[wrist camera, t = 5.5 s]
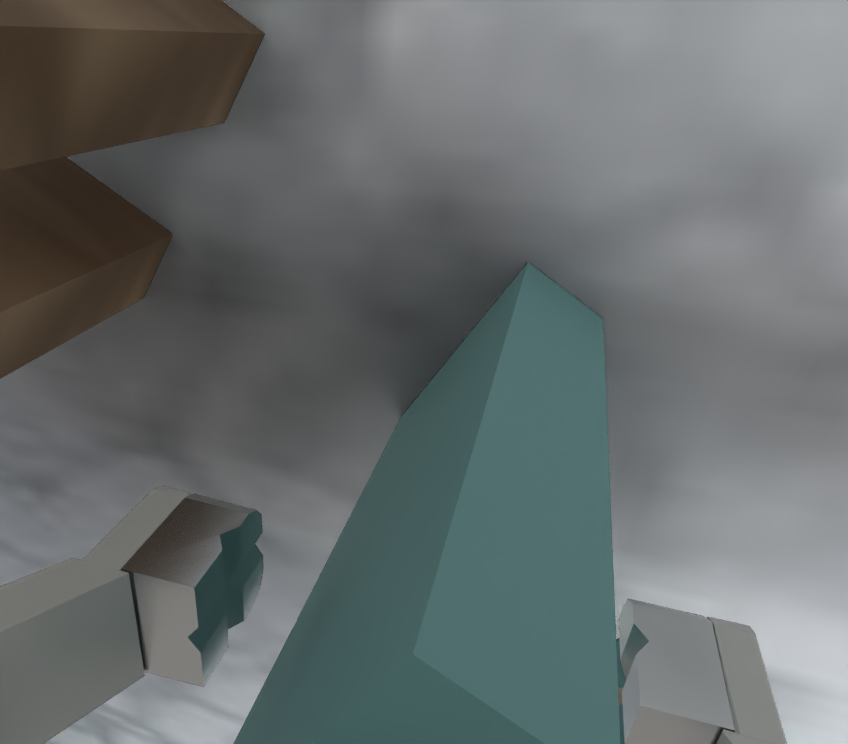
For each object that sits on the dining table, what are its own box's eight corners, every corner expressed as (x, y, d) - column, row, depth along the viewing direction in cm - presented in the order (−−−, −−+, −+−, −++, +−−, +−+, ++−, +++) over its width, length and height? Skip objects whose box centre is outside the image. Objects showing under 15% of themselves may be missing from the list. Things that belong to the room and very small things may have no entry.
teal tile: (603, 318, 14) (622, 795, 5) (465, 464, 16) (318, 955, 7) (528, 261, 14) (413, 654, 5) (400, 417, 16) (171, 863, 7)
